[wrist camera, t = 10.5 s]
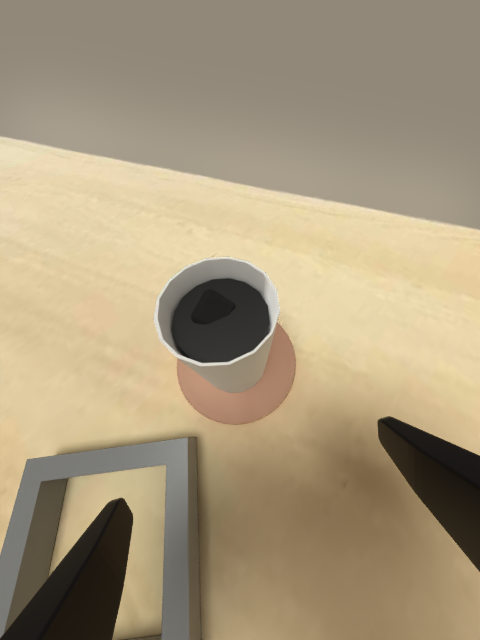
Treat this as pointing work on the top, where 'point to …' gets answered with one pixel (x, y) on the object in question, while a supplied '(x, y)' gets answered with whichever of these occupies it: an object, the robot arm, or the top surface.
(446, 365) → the top surface
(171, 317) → the grey cup
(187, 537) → the cup holder
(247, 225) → the top surface
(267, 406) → the coaster
